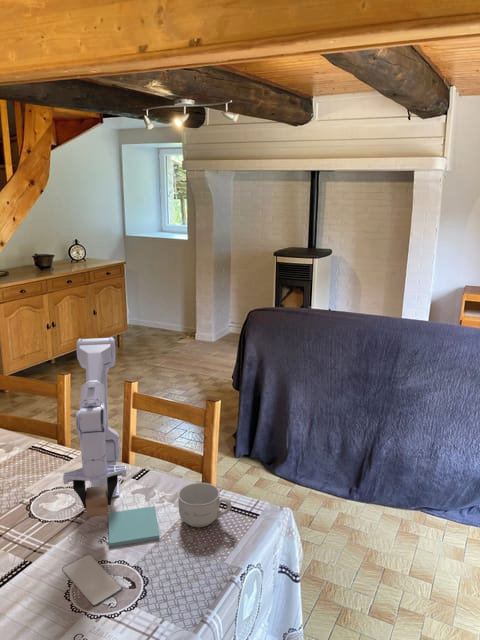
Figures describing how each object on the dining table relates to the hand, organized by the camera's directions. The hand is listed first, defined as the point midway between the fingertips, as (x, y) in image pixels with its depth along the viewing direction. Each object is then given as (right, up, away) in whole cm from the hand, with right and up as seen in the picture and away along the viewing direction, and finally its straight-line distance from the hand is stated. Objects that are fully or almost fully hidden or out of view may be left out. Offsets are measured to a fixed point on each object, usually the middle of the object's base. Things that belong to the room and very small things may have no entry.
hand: (97, 504), depth 125 cm
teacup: (+26, -7, +7) cm, 28 cm away
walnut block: (0, -2, 0) cm, 2 cm away
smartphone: (+2, -13, -12) cm, 18 cm away
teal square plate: (+8, -7, +5) cm, 12 cm away
